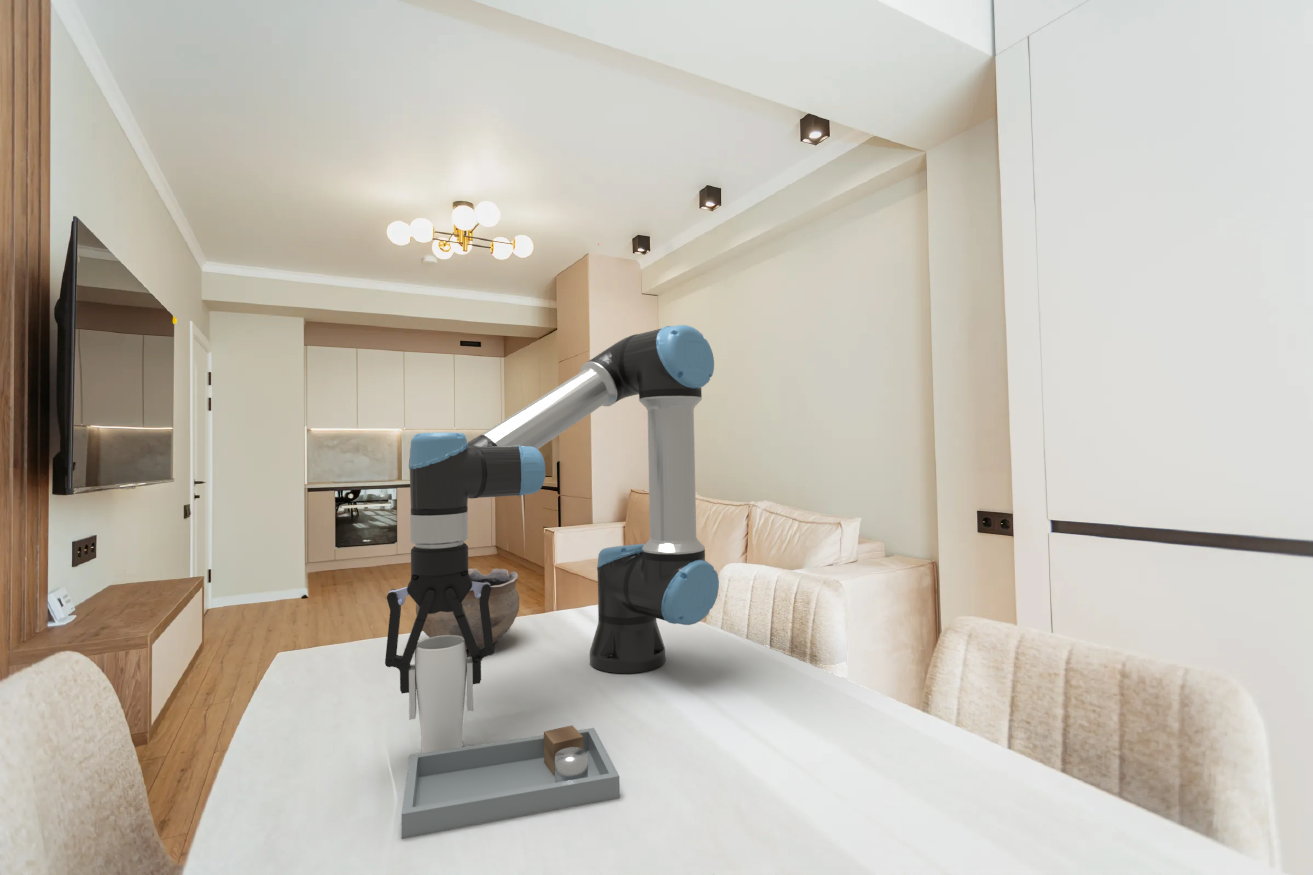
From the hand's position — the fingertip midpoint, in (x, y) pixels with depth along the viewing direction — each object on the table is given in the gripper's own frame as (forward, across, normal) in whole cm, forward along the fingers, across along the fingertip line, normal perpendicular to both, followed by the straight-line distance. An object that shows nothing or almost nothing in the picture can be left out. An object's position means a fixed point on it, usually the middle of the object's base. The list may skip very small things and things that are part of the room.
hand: (441, 710), depth 86 cm
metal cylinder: (+6, -15, +15) cm, 22 cm away
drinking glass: (+6, 0, 0) cm, 6 cm away
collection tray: (+6, -8, +12) cm, 16 cm away
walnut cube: (+6, -15, +9) cm, 19 cm away
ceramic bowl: (+7, -5, -52) cm, 52 cm away
